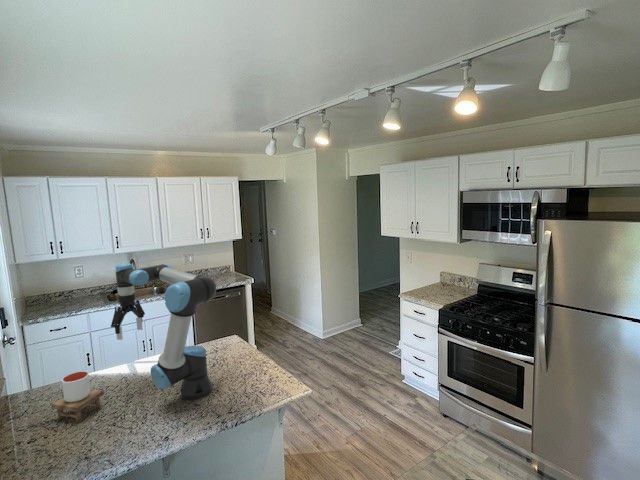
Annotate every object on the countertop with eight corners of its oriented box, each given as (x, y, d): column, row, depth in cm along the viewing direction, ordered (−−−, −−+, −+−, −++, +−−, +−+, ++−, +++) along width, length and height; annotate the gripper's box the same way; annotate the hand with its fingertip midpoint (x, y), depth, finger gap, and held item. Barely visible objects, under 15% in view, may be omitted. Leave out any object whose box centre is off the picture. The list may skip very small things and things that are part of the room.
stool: (105, 406, 166) (103, 390, 166) (78, 424, 153) (76, 407, 152) (81, 403, 170) (79, 387, 169) (53, 421, 156) (51, 404, 155)
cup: (77, 404, 154) (75, 382, 153) (58, 402, 156) (56, 381, 155) (96, 392, 164) (93, 372, 163) (77, 390, 166) (75, 370, 165)
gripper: (138, 287, 191) (141, 325, 193) (99, 300, 167) (104, 343, 169) (150, 288, 189) (153, 326, 192) (112, 301, 165) (117, 344, 167)
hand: (130, 334), depth 180 cm, fingers open, 13 cm apart
